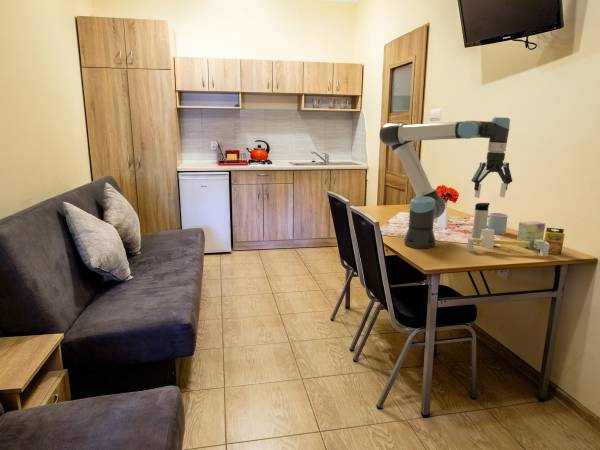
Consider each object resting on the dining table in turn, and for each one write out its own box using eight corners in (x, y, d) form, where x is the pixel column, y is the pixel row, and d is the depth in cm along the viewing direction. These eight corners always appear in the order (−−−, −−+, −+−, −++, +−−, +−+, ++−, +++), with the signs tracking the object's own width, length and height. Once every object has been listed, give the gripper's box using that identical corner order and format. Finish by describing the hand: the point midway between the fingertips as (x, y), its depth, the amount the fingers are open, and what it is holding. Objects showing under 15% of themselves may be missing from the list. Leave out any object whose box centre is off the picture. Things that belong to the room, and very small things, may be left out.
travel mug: (486, 243, 209) (491, 204, 204) (472, 242, 210) (477, 203, 205) (483, 239, 215) (488, 202, 210) (470, 239, 216) (474, 201, 211)
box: (533, 243, 208) (536, 220, 206) (542, 246, 203) (545, 223, 200) (515, 244, 206) (518, 221, 203) (524, 248, 201) (527, 224, 198)
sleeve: (481, 247, 193) (483, 230, 191) (479, 244, 197) (481, 228, 196) (493, 247, 192) (495, 231, 190) (490, 245, 196) (492, 228, 194)
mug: (505, 231, 232) (507, 213, 229) (505, 235, 224) (507, 217, 221) (479, 228, 238) (481, 211, 235) (477, 232, 230) (479, 214, 228)
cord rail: (468, 251, 195) (469, 237, 193) (467, 249, 199) (468, 235, 197) (547, 256, 188) (549, 241, 186) (544, 253, 192) (546, 239, 190)
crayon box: (543, 252, 194) (547, 228, 191) (542, 250, 196) (545, 227, 193) (561, 254, 191) (565, 230, 188) (560, 252, 194) (563, 228, 191)
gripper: (477, 152, 184) (470, 199, 189) (525, 152, 189) (517, 198, 194) (467, 150, 191) (461, 195, 196) (514, 151, 196) (507, 195, 202)
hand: (489, 197), depth 195 cm, fingers open, 13 cm apart
